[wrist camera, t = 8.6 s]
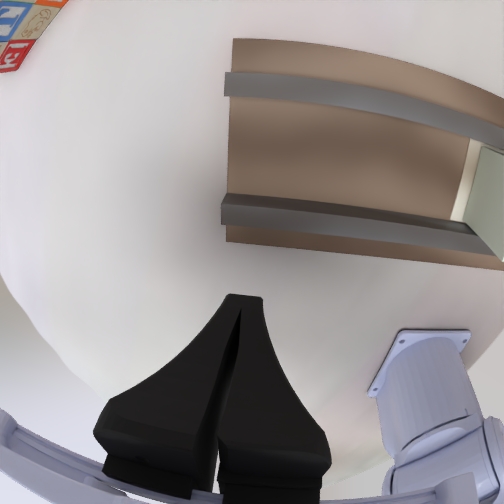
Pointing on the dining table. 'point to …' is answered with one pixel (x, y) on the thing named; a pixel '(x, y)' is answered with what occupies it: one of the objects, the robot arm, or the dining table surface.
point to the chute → (354, 153)
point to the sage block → (488, 201)
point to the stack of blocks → (23, 28)
